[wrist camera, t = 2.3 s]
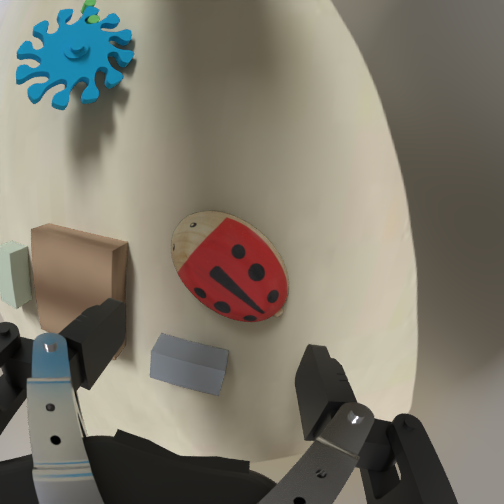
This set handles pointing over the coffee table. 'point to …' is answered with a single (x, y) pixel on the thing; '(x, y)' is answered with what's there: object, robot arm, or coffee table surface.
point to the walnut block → (75, 273)
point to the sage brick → (14, 274)
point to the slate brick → (188, 364)
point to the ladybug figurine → (230, 266)
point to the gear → (74, 55)
